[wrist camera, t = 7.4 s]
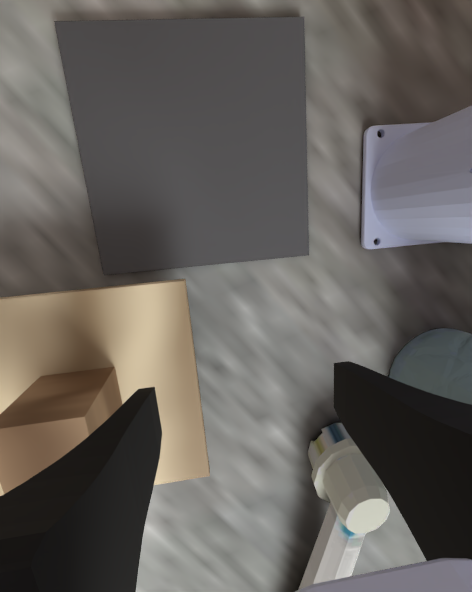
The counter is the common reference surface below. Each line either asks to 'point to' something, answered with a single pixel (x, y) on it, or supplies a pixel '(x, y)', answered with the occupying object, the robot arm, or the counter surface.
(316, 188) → the counter surface
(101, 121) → the mat
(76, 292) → the lid
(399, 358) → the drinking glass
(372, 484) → the toothpaste tube
